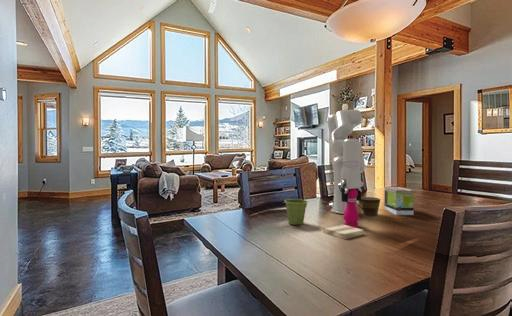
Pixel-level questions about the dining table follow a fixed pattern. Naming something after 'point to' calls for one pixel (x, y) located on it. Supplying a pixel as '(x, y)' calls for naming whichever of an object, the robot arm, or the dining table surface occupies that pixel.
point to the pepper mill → (351, 209)
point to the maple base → (343, 231)
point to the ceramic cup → (370, 205)
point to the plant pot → (295, 210)
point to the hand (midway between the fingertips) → (351, 200)
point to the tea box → (399, 200)
